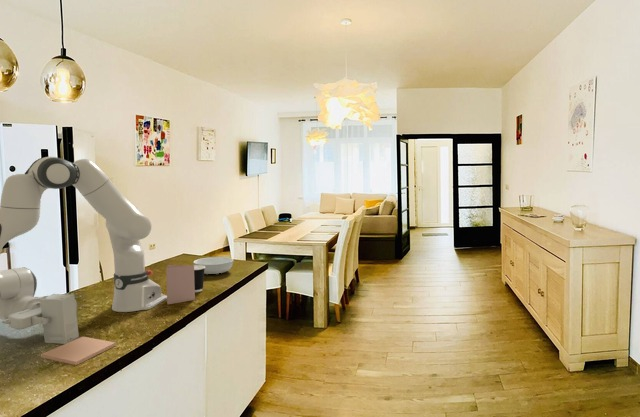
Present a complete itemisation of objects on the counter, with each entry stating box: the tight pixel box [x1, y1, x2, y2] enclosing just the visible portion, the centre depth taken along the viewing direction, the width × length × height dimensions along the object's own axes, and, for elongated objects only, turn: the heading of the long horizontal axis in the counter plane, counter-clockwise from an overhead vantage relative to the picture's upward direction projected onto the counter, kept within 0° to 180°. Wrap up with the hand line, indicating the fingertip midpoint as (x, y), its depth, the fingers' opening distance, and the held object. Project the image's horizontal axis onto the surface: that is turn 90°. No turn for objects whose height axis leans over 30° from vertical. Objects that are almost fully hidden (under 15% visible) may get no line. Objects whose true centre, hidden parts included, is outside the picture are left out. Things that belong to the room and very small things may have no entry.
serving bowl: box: [192, 256, 234, 275], centre depth 223 cm, size 21×21×7 cm
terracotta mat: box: [40, 336, 117, 366], centre depth 127 cm, size 14×14×1 cm
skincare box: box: [40, 293, 80, 345], centre depth 134 cm, size 8×6×15 cm
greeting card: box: [165, 264, 196, 305], centre depth 174 cm, size 11×7×15 cm, turn 89°
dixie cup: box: [194, 265, 205, 293], centre depth 190 cm, size 8×8×11 cm
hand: (61, 315), depth 134 cm, fingers open, 8 cm apart
